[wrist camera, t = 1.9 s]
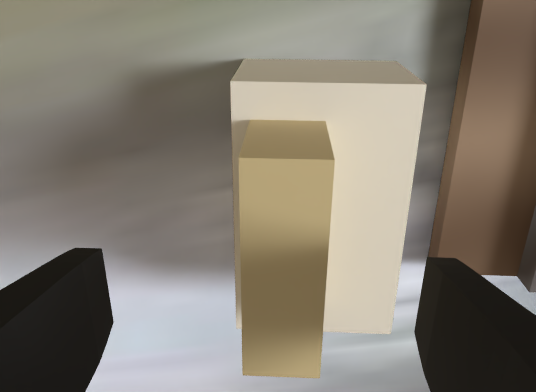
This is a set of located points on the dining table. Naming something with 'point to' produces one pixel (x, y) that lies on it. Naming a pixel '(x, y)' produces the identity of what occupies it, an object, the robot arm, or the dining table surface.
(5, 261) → the dining table surface
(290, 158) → the large cream box
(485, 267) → the grey brown open tray
